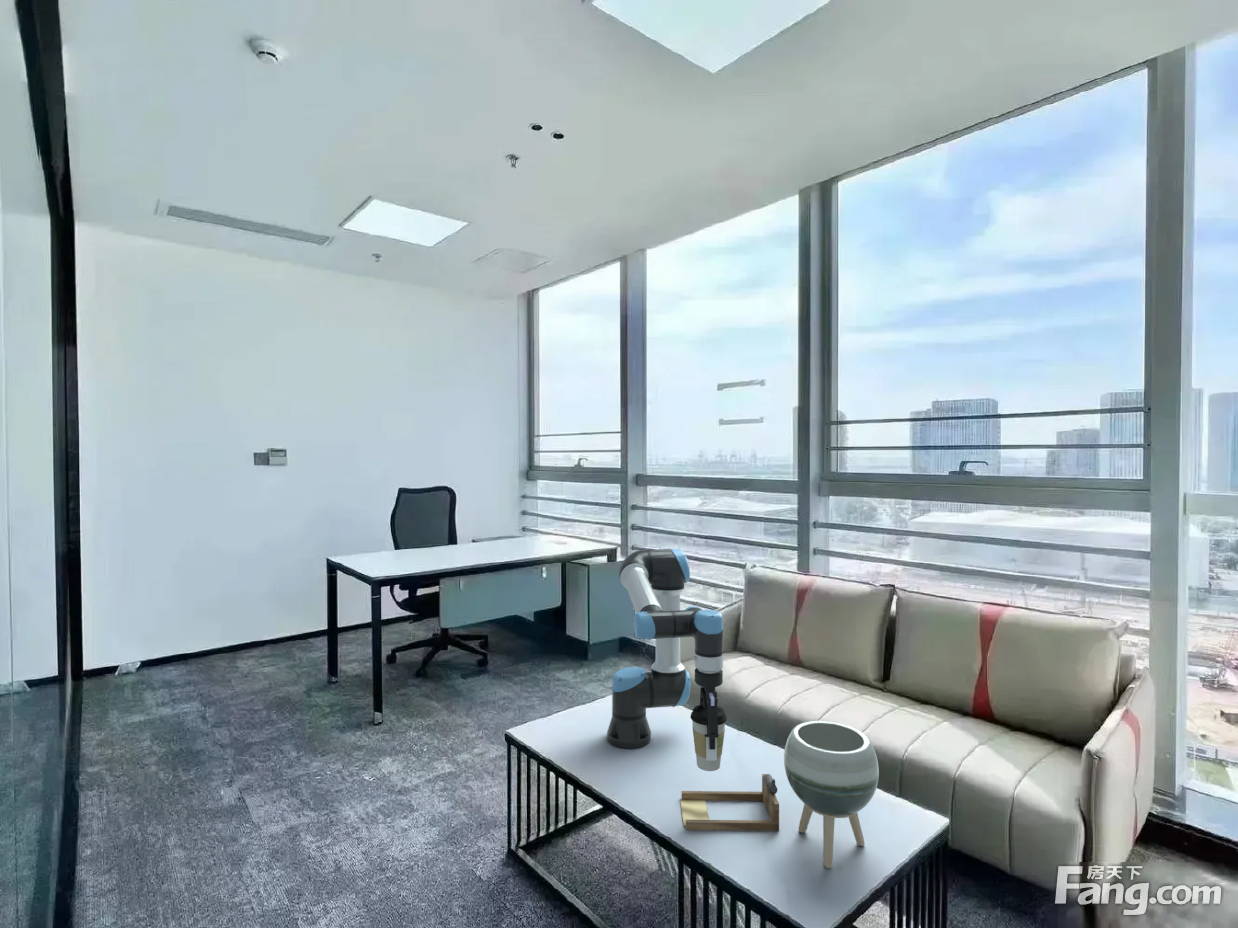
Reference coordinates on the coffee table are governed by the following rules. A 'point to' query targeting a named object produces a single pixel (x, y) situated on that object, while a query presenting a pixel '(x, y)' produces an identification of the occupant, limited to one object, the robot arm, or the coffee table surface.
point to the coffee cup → (700, 740)
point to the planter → (831, 775)
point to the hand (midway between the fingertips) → (708, 749)
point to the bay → (697, 809)
